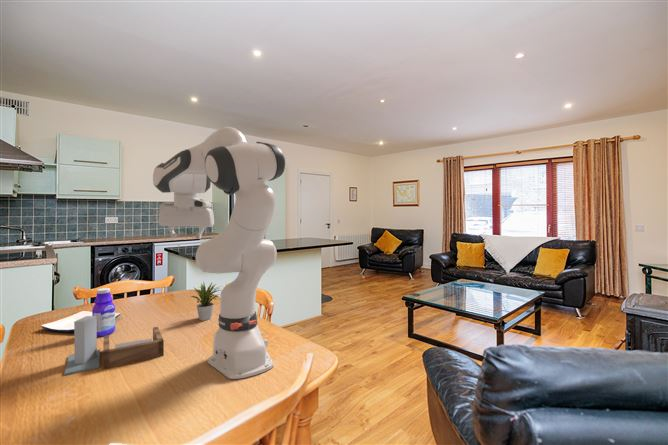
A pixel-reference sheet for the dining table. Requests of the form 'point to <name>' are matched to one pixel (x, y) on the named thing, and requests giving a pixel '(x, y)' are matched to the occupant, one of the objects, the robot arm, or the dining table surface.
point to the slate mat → (76, 368)
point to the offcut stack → (132, 343)
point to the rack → (133, 351)
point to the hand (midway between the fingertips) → (186, 238)
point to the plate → (68, 322)
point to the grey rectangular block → (85, 339)
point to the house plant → (205, 301)
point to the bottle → (104, 312)
